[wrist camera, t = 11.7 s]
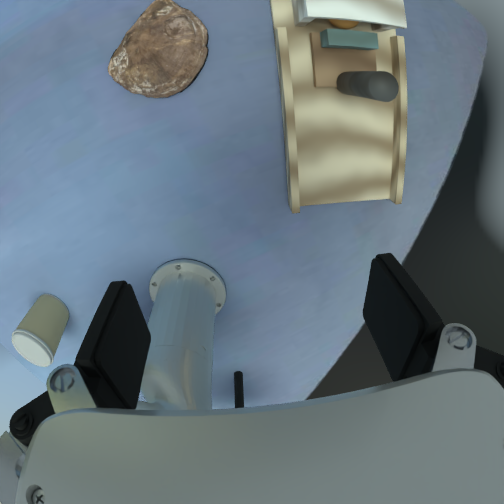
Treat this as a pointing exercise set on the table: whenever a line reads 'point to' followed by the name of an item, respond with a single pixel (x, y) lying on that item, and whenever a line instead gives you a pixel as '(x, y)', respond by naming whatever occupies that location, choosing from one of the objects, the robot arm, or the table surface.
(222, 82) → the table surface
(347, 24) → the ball
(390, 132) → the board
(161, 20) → the shell
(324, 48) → the kicker
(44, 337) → the coffee cup
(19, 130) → the table surface
